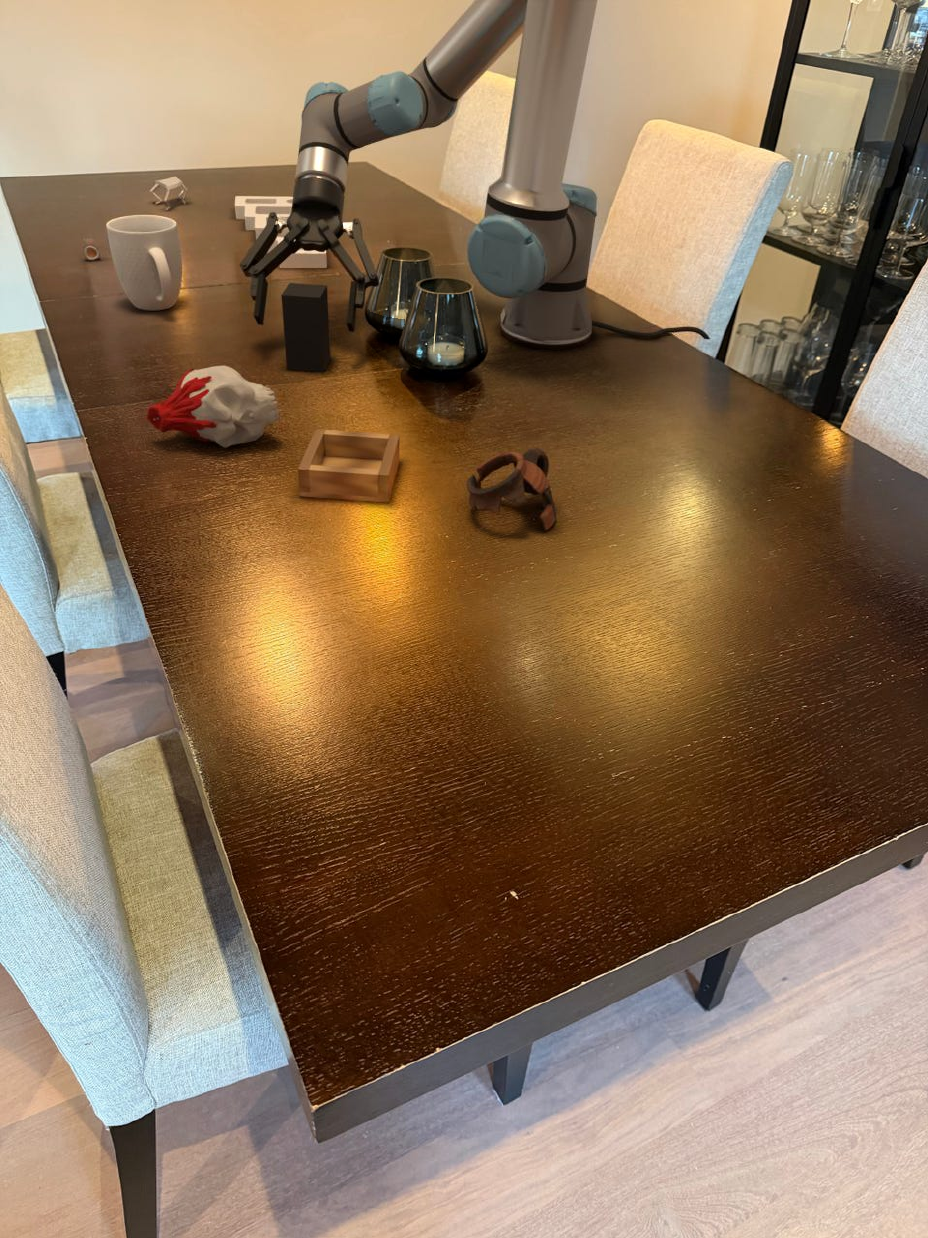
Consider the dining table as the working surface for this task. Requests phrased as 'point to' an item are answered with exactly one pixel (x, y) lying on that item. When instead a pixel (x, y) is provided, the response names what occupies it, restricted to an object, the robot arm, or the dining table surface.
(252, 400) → the white red lumpy piece
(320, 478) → the open wooden box
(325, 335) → the black block
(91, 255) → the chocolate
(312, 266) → the holder
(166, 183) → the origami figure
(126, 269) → the mug
